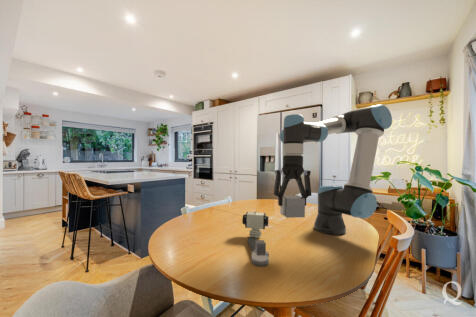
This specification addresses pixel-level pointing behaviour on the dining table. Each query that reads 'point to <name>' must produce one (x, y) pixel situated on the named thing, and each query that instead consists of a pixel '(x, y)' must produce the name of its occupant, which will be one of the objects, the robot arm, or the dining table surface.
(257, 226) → the pneumatic valve
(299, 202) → the gray cube
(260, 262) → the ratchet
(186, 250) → the dining table surface
